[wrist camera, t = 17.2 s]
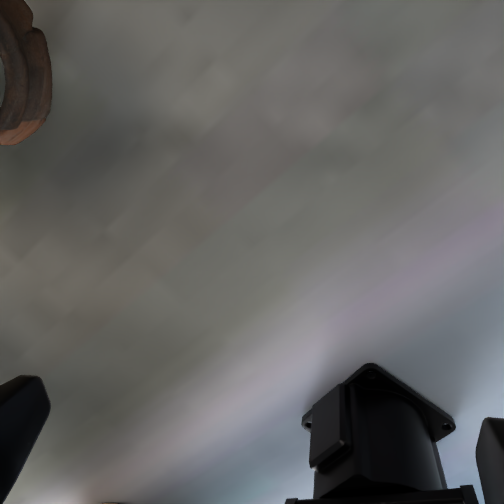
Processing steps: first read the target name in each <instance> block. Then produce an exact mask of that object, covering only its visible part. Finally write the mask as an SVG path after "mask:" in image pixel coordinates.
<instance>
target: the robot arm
mask: <svg viewBox="0 0 504 504" xmlns="http://www.w3.org/2000/svg"><path fill="white" fill-rule="evenodd" d="M369 371H373V372H374V373H367V372H369ZM50 410H51V403H50V400H49V397H48V394H47V392H46V389H45V386H44V383H43V381H42V379H41V378H40V377H38V376H31V375H20V376H18V377H16V378H14V379H12V380H10V381H8V382H6V383H4V384H2V385H1V386H0V504H3V502H4V501H5V499H6V498H7V496H8V494H9V492H10V491H11V489H12V487H13V486H14V484H15V482H16V480H17V478H18V476H19V474H20V472H21V471H22V469H23V466H24V464H25V462H26V460H27V458H28V456H29V454H30V452H31V450H32V448H33V446H34V444H35V442H36V440H37V438H38V436H39V434H40V432H41V430H42V428H43V426H44V424H45V422H46V420H47V418H48V416H49V413H50ZM309 422H312V423H309ZM443 424H446V425H443ZM302 427H303V428H304V429H305V430H307V431H308V432H310V433H311V439H310V454H309V464H310V468H311V469H313V470H315V474H314V494H313V499H305V500H298V498H291V499H286V502H285V504H479V503H478V500H477V497H476V494H475V491H474V488H473V485H463V486H460V488H454V489H448V488H447V484H446V480H445V476H444V472H443V468H442V465H441V461H440V457H439V453H438V449H437V445H436V442H437V441H439V440H441V439H442V438H444V437H445V436H447V435H448V434H450V433H452V432H453V431H454V430H455V428H456V426H455V422H454V419H453V418H452V417H451V416H449V415H448V414H447V413H445V412H444V411H442V410H441V409H439V408H438V407H436V406H435V405H434V404H432V403H431V402H429V401H428V400H426V399H425V398H424V397H422V396H421V395H419V394H418V393H416V392H415V391H414V390H412V389H411V388H409V387H408V386H406V385H405V384H404V383H402V382H401V381H399V380H398V379H396V378H395V377H394V376H392V375H391V374H389V373H388V372H386V371H385V370H384V369H382V368H381V367H379V366H378V365H376V364H374V363H367V364H365V365H363V366H362V367H361V368H360V369H359V370H357V371H356V372H355V373H354V374H353V375H351V376H350V377H349V378H348V379H347V380H345V381H344V382H343V383H340V384H338V385H337V386H336V387H334V388H333V389H332V390H331V391H330V392H328V393H327V394H326V395H325V396H324V397H322V398H321V399H320V400H319V401H318V402H317V403H315V404H314V405H313V408H312V409H311V410H310V411H308V412H307V413H306V414H305V415H304V416H303V417H302ZM476 462H477V467H478V472H479V476H480V481H481V486H482V490H483V495H484V500H485V504H504V419H503V418H492V417H487V418H485V419H484V420H483V422H482V426H481V430H480V434H479V438H478V442H477V446H476Z"/></svg>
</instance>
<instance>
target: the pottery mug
mask: <svg viewBox="0 0 504 504" xmlns="http://www.w3.org/2000/svg"><path fill="white" fill-rule="evenodd" d="M32 22H33V13H32V11H31V9H30V8H29V6H28V5H27V4H26V2H25V1H24V0H0V56H1V58H2V62H3V65H4V71H5V80H6V85H5V94H4V99H3V102H2V105H1V107H0V145H16V144H18V143H20V142H21V141H23V140H24V139H26V138H27V137H29V136H30V135H31V134H33V133H34V132H35V131H36V130H37V129H38V128H39V127H40V126H41V125H42V124H43V123H44V122H45V120H46V117H47V116H48V114H49V113H50V107H51V100H52V70H51V61H50V57H49V53H48V48H47V42H46V38H45V35H44V34H43V32H42V31H41V30H40V29H38V28H34V27H32Z"/></svg>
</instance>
